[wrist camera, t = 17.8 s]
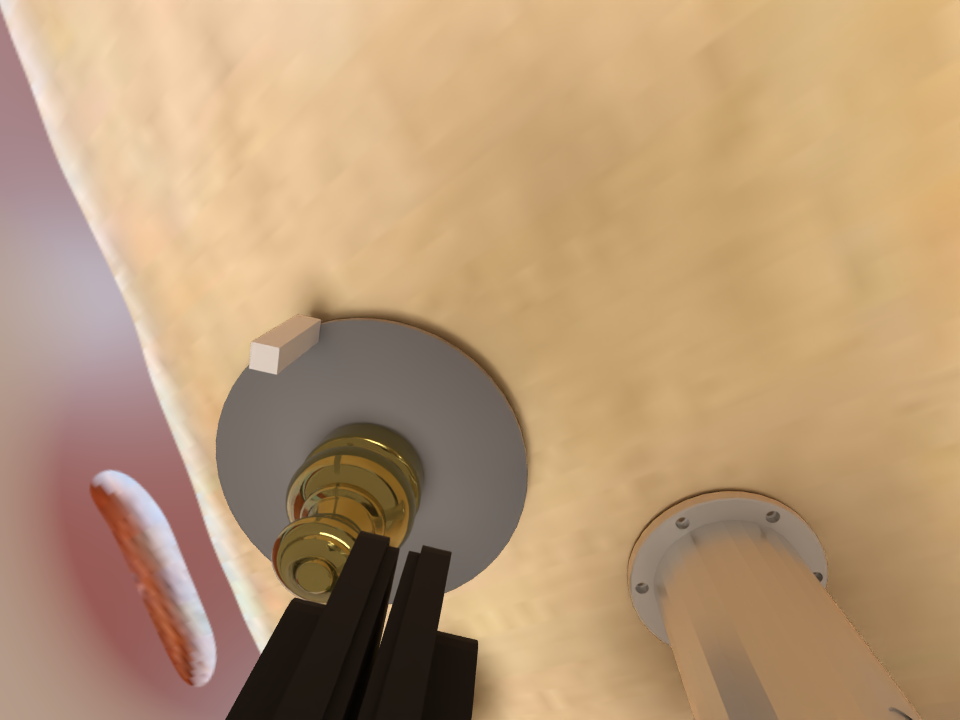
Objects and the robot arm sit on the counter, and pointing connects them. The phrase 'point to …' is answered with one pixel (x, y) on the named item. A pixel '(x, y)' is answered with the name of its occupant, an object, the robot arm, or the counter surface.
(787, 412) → the counter surface
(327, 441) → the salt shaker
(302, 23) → the counter surface
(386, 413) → the disc
